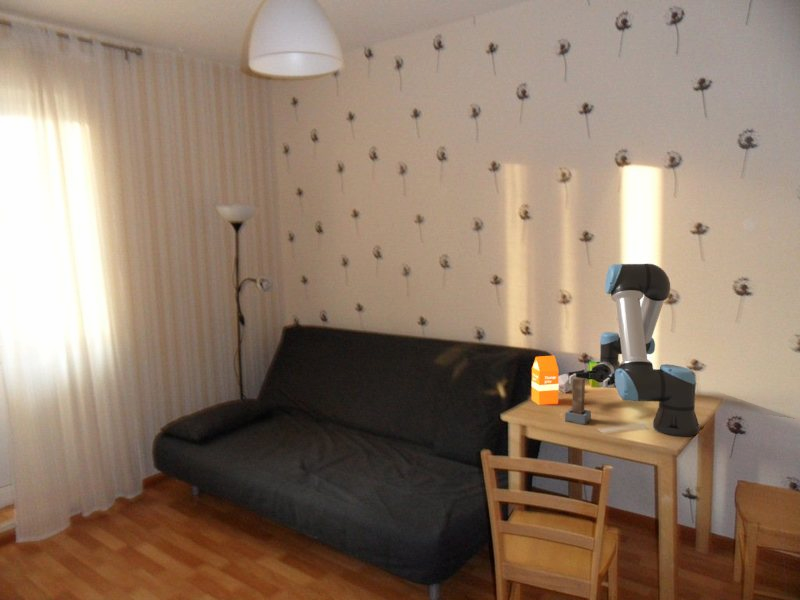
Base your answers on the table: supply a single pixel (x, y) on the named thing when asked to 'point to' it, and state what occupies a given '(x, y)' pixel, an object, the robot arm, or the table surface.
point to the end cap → (578, 417)
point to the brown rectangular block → (578, 395)
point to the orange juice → (545, 380)
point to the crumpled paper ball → (564, 383)
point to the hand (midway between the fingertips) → (586, 382)
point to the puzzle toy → (593, 382)
